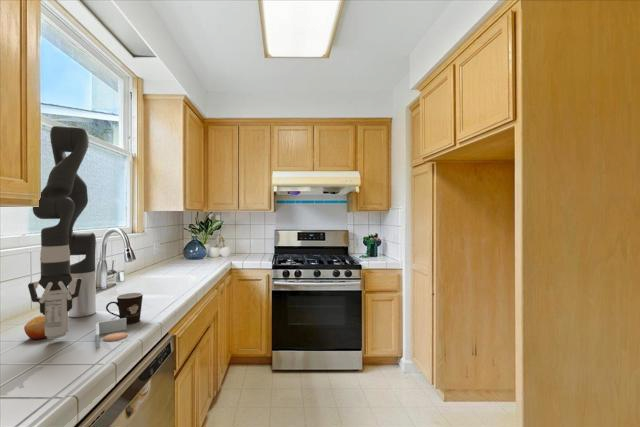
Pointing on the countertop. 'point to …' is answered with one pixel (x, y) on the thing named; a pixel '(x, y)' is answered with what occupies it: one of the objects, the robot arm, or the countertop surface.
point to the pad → (115, 336)
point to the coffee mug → (128, 307)
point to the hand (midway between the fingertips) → (56, 312)
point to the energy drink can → (56, 314)
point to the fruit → (36, 328)
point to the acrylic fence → (109, 327)
